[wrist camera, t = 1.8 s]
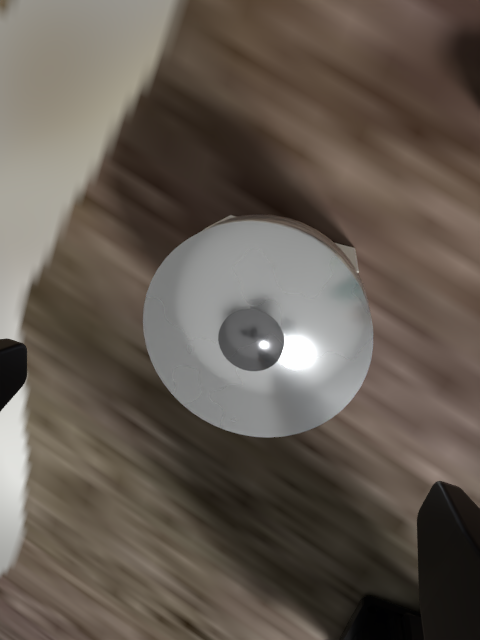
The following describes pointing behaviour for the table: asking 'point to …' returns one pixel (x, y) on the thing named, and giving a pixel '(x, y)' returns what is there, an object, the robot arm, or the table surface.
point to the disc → (259, 326)
